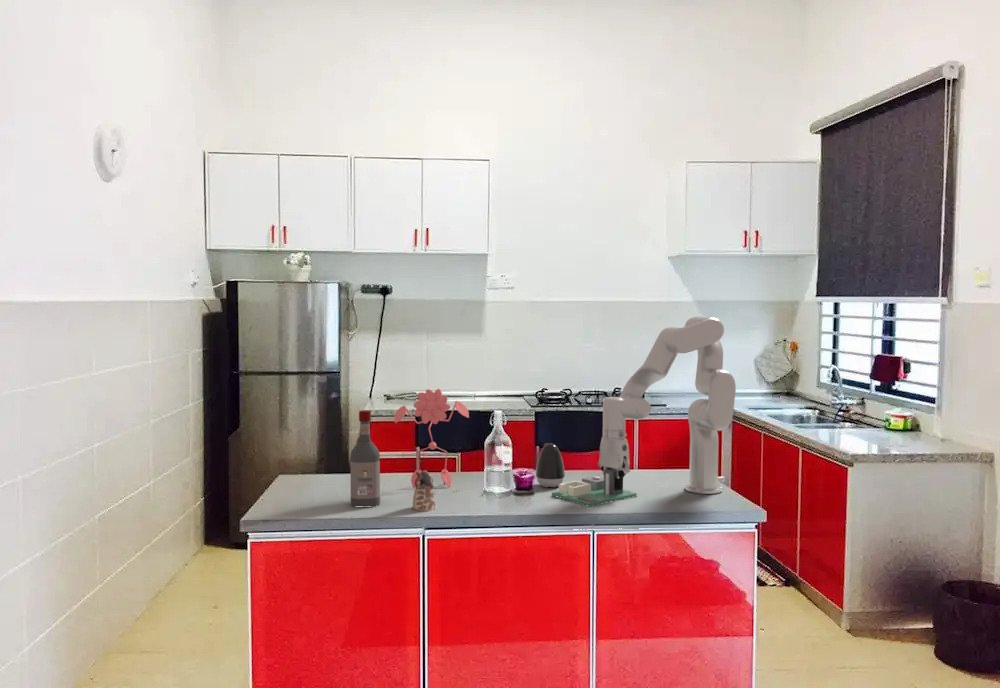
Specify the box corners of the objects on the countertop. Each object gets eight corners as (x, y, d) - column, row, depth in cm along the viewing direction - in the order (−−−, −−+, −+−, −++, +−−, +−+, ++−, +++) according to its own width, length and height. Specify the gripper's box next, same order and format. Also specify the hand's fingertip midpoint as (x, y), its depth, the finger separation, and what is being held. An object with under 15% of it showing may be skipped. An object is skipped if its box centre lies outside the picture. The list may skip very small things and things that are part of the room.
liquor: (380, 507, 254) (379, 412, 253) (350, 508, 253) (350, 413, 251) (379, 500, 263) (379, 408, 262) (351, 501, 262) (350, 409, 260)
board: (598, 486, 283) (598, 479, 283) (636, 496, 269) (636, 488, 269) (551, 495, 270) (551, 487, 270) (589, 506, 256) (589, 498, 256)
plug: (614, 490, 273) (614, 467, 272) (622, 493, 269) (623, 469, 269) (602, 493, 269) (602, 469, 269) (611, 495, 266) (611, 471, 266)
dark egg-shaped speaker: (557, 481, 291) (558, 440, 290) (569, 488, 281) (569, 445, 280) (531, 483, 287) (531, 441, 287) (541, 490, 278) (542, 446, 277)
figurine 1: (394, 484, 285) (394, 386, 282) (467, 483, 287) (467, 386, 285) (393, 496, 269) (393, 392, 267) (470, 494, 272) (470, 392, 270)
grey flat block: (596, 483, 283) (596, 474, 283) (610, 487, 278) (610, 477, 278) (582, 486, 279) (582, 476, 279) (596, 490, 274) (596, 480, 273)
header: (576, 489, 275) (576, 480, 275) (591, 493, 269) (591, 484, 269) (559, 492, 270) (559, 483, 270) (573, 496, 264) (573, 487, 264)
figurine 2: (437, 510, 250) (437, 472, 250) (415, 512, 248) (414, 473, 248) (432, 504, 257) (432, 467, 257) (410, 506, 255) (410, 469, 255)
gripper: (640, 436, 264) (639, 491, 265) (603, 429, 277) (603, 482, 278) (624, 438, 259) (624, 494, 260) (588, 432, 273) (587, 485, 274)
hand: (613, 487), depth 269 cm, fingers closed on plug, 4 cm apart
